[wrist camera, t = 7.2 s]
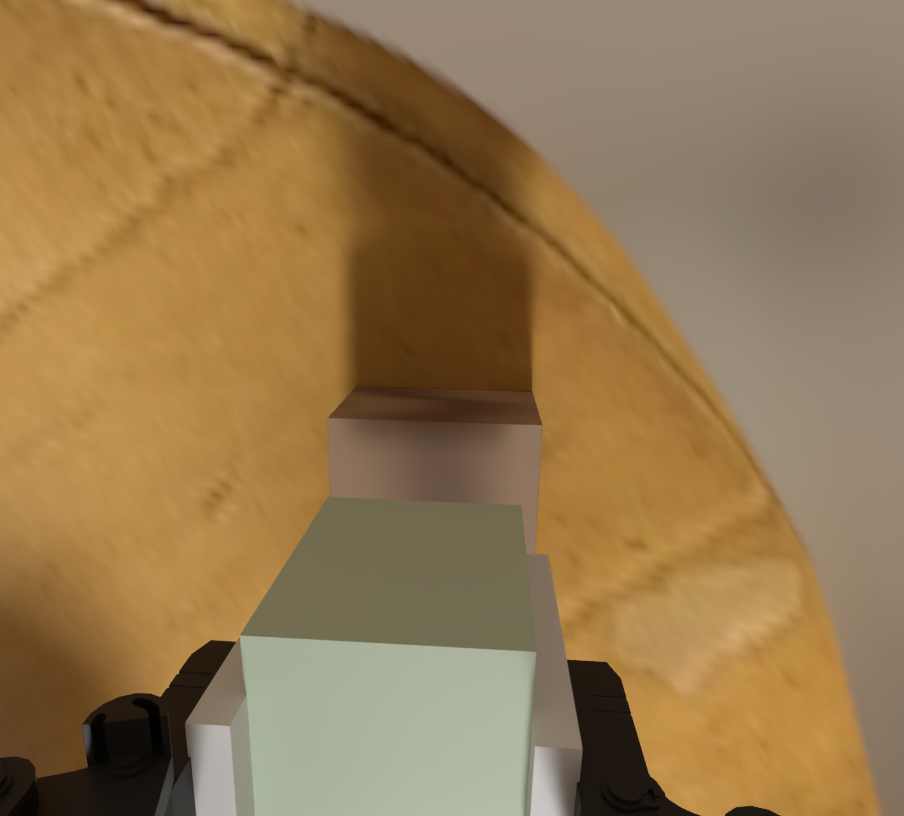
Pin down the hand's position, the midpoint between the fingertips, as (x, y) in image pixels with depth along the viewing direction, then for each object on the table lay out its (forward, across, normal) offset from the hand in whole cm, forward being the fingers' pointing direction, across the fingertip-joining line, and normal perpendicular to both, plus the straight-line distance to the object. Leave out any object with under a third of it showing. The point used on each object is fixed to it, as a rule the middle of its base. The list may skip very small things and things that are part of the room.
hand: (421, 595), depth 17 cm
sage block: (0, 0, 0) cm, 0 cm away
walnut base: (+10, 0, 0) cm, 10 cm away
